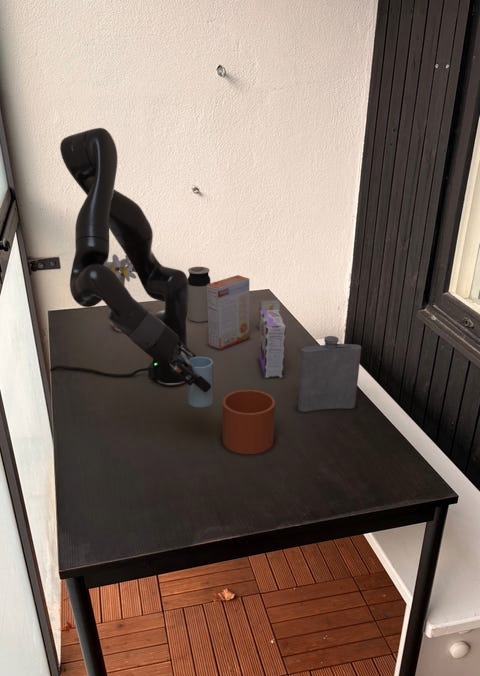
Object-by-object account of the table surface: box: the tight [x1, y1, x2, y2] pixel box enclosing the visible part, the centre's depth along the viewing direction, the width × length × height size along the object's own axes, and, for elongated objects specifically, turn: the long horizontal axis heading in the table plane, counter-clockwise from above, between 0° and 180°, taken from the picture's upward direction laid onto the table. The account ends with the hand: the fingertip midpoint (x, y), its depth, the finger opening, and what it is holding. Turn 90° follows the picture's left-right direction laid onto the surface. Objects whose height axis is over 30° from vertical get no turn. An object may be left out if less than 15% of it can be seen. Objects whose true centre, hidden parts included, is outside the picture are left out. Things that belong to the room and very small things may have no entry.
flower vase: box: [104, 254, 137, 333], centre depth 219 cm, size 13×18×25 cm
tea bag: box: [258, 299, 281, 330], centre depth 223 cm, size 4×7×10 cm, turn 98°
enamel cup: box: [186, 356, 215, 408], centre depth 148 cm, size 6×6×10 cm
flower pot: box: [221, 389, 276, 455], centre depth 158 cm, size 13×13×11 cm
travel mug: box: [187, 266, 211, 323], centre depth 229 cm, size 8×8×18 cm
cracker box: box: [207, 274, 250, 350], centre depth 210 cm, size 14×6×21 cm, turn 135°
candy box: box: [259, 310, 286, 379], centre depth 193 cm, size 14×6×16 cm, turn 5°
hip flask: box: [297, 335, 362, 413], centre depth 171 cm, size 16×4×20 cm, turn 99°
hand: (207, 382), depth 148 cm, fingers closed on enamel cup, 6 cm apart
